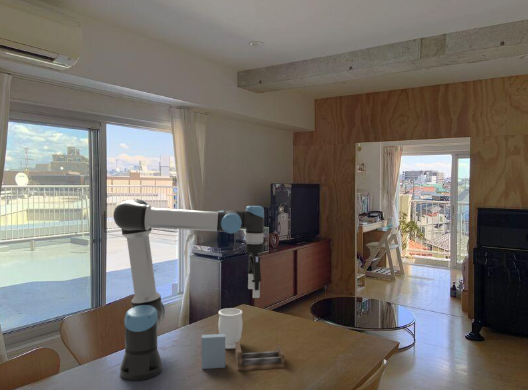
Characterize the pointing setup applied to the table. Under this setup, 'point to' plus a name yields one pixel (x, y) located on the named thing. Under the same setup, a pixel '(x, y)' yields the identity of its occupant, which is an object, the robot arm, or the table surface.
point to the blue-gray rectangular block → (213, 351)
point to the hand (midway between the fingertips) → (253, 293)
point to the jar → (230, 326)
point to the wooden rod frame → (258, 359)
